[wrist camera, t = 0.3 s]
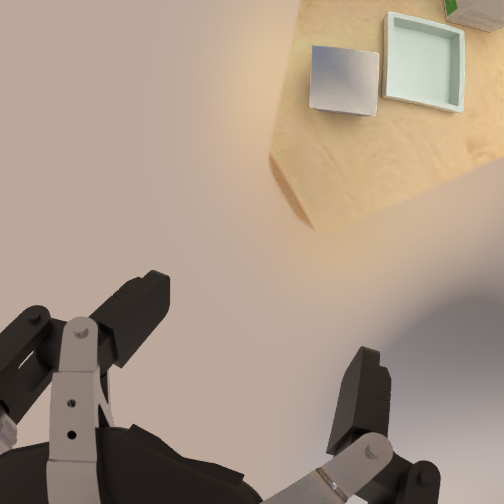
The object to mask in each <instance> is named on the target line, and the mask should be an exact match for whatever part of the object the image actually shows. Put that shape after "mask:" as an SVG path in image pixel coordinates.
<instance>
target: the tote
mask: <svg viewBox="0 0 504 504" xmlns="http://www.w3.org/2000/svg"><path fill="white" fill-rule="evenodd" d="M464 84H465V39H464V30H461V29H458V28H454V27H451V26H448V25H445V24H441V23H437V22H434V21H430V20H426V19H422V18H418V17H414V16H409V15H405V14H400V13H395V12H390V11H388V12H387V14H386V16H385V18H384V50H383V80H382V98H387V99H393V100H398V101H403V102H408V103H413V104H417V105H422V106H426V107H430V108H435V109H439V110H443V111H447V112H450V113H463V104H464Z"/></svg>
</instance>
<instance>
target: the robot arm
mask: <svg viewBox="0 0 504 504" xmlns="http://www.w3.org/2000/svg"><path fill="white" fill-rule="evenodd" d="M169 306H170V277H169V276H167V275H165V274H163V273H160V272H158V271H155V270H151V271H150V272H149V273H147V274H146V275H145V276H144V277H143V278H140V277H137V278H134V279H132V280H129V281H127V282H126V283H125V284H124V285H123V286H122V287H120V289H119V290H117V291H116V292H115V293H114V294H113V296H111V297H110V298H108V299H107V300H106V301H105V302H104V303H103V304H102V305H101V306H100V307H99V308H98V309H97V310H96V311H94V313H92V314H91V315H90V316H89V317H76V318H74V319H72V320H70V321H69V322H65V321H62V320H58V319H54V318H51V316H50V313H49V311H48V309H47V308H45V307H43V306H40V305H35V306H31V307H29V308H27V309H25V310H24V311H23V312H22V313H21V314H20V315H19V316H18V317H17V318H16V319H15V320H14V321H13V322H11V323H10V324H9V325H8V326H7V327H6V328H5V330H3V331H2V332H1V333H0V504H345V503H346V502H347V500H348V499H349V498H350V497H351V496H352V495H354V494H355V495H357V496H358V497H360V498H362V499H364V500H366V501H367V502H368V504H438V497H439V489H440V479H441V477H440V472H439V470H438V468H437V467H436V466H435V465H434V464H433V463H431V462H429V461H418V462H417V463H415V464H413V463H410V462H409V461H407V460H405V459H404V458H402V457H400V456H398V455H397V454H395V452H394V451H393V448H392V445H391V443H390V441H389V440H388V424H389V412H390V397H391V393H390V391H391V377H390V375H389V372H388V369H387V368H385V367H382V366H379V362H380V352H379V351H376V350H373V349H369V348H366V347H363V346H362V347H360V349H359V350H358V352H357V354H356V355H355V357H354V359H353V360H352V362H351V363H350V365H349V367H348V368H347V370H346V372H345V374H344V377H343V380H342V383H341V388H340V393H339V398H338V403H337V408H336V412H335V417H334V421H333V426H332V431H331V434H330V439H329V443H328V447H327V451H326V453H327V454H331V455H334V457H333V459H331V460H330V461H328V462H327V463H326V464H324V465H323V466H321V467H320V468H317V469H315V470H314V471H312V472H311V473H309V474H308V475H306V476H305V477H303V478H301V479H300V480H298V481H297V482H295V483H294V484H292V485H290V486H289V487H287V488H285V489H284V490H282V491H280V492H279V493H277V494H275V495H274V496H272V497H270V498H268V499H266V500H265V501H263V500H262V498H261V497H260V495H259V494H258V493H257V492H256V491H255V490H254V489H253V488H252V487H251V486H249V485H248V484H247V483H246V482H244V481H243V477H244V474H242V473H239V472H236V471H233V470H231V469H228V468H226V467H223V466H220V465H218V464H215V463H209V462H204V461H198V460H194V459H188V458H184V457H182V456H181V455H179V454H178V453H177V452H175V451H174V450H173V449H172V448H170V447H169V446H168V445H167V444H166V443H165V442H163V441H162V440H161V439H160V438H159V437H157V436H155V435H153V434H151V433H149V432H147V431H146V430H144V429H142V428H140V427H138V426H137V425H135V424H133V425H132V426H131V427H130V429H127V428H122V427H114V422H113V417H112V412H111V402H110V383H109V368H110V367H111V366H112V364H114V365H117V366H118V367H120V368H122V367H123V366H124V365H125V364H126V363H127V361H128V360H129V359H130V358H131V356H132V355H133V354H134V353H135V352H136V351H137V349H138V348H139V347H140V346H141V345H142V343H143V342H144V341H145V340H146V339H147V337H148V336H149V335H150V334H151V333H152V331H153V330H154V329H155V328H156V327H157V326H158V324H159V323H160V322H161V321H162V320H163V319H164V317H165V316H166V314H167V312H168V310H169ZM32 351H33V354H32V355H31V356H30V357H29V358H28V359H27V360H26V361H25V362H24V363H23V365H22V366H21V367H20V368H19V366H20V364H21V363H22V362H23V361H24V360H25V359H26V358H27V357H28V355H29V354H30V353H31V352H32ZM18 368H19V369H18ZM51 381H52V388H51V403H50V436H49V439H50V440H49V442H44V443H40V444H35V445H30V446H26V447H21V448H16V449H12V446H13V445H15V444H16V442H17V438H16V436H17V427H16V425H17V424H18V423H19V422H20V420H21V419H22V418H23V416H24V415H25V414H26V412H27V411H28V410H29V409H30V407H31V406H32V405H33V403H34V402H35V401H36V400H37V398H38V397H39V396H40V395H41V393H42V392H43V391H44V390H45V388H46V387H47V386H48V385H49V384H50V382H51Z"/></svg>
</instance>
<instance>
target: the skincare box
mask: <svg viewBox="0 0 504 504" xmlns="http://www.w3.org/2000/svg"><path fill="white" fill-rule="evenodd" d="M443 1H444V7H445V14H446V20H447V21H448V22H452V23H456V24H461V25H465V26H468V27H472V28H476V29H480V30H483V31H486V32H492V31H495V30H497V29H500V28H503V27H504V0H443Z"/></svg>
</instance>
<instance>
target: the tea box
mask: <svg viewBox="0 0 504 504" xmlns="http://www.w3.org/2000/svg"><path fill="white" fill-rule="evenodd" d="M378 78H379V53H376V52H369V51H363V50H355V49H347V48H338V47H328V46H316V45H312V60H311V82H310V101H309V108H313V109H315V110H318V111H326V112H335V113H343V114H350V115H358V116H376V111H377V96H378Z"/></svg>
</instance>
